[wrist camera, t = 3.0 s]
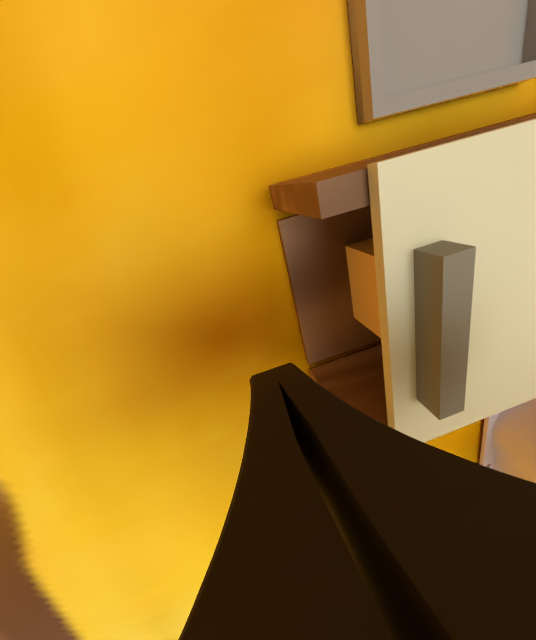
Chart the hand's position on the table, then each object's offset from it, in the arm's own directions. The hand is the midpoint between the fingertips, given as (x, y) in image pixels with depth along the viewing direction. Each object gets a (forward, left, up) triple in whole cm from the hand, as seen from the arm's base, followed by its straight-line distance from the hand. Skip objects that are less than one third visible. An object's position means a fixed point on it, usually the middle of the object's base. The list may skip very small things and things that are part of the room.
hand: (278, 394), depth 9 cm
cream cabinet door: (0, -8, -1) cm, 8 cm away
